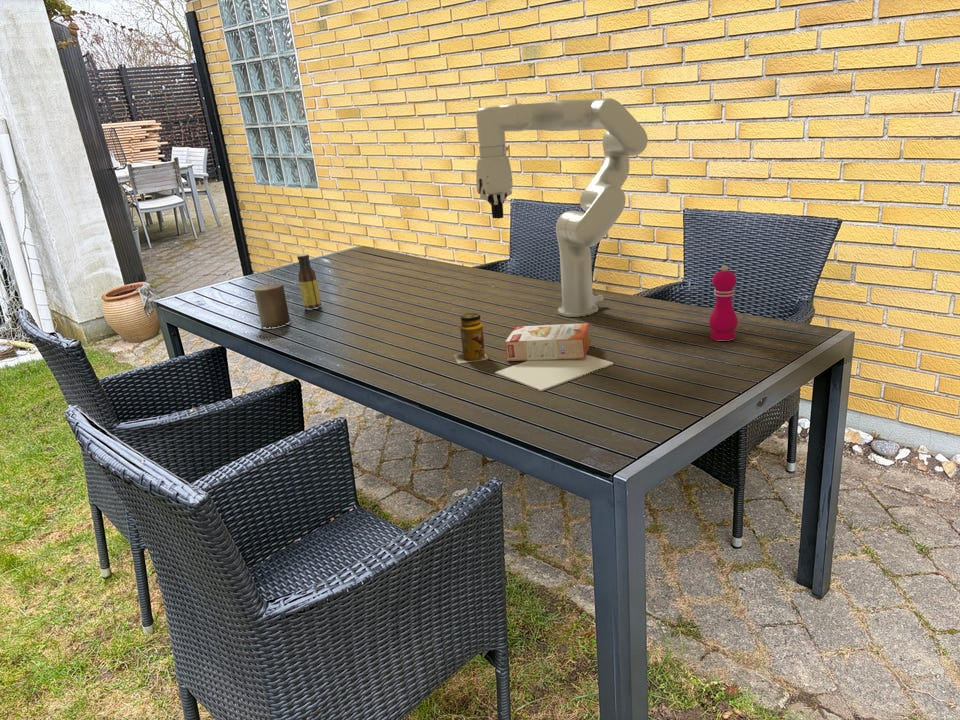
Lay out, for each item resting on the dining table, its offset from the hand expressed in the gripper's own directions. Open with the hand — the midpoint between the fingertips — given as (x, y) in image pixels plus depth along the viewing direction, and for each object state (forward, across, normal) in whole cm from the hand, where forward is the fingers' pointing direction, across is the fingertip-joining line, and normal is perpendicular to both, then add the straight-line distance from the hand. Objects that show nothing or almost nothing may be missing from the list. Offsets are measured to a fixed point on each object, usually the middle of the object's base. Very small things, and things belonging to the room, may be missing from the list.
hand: (498, 217), depth 213 cm
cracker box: (+29, +1, +37) cm, 47 cm away
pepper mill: (+33, -30, +56) cm, 72 cm away
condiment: (+33, +24, +15) cm, 44 cm away
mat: (+33, +15, +39) cm, 53 cm away
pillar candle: (+33, +49, -65) cm, 88 cm away
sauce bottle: (+33, +31, -75) cm, 88 cm away
